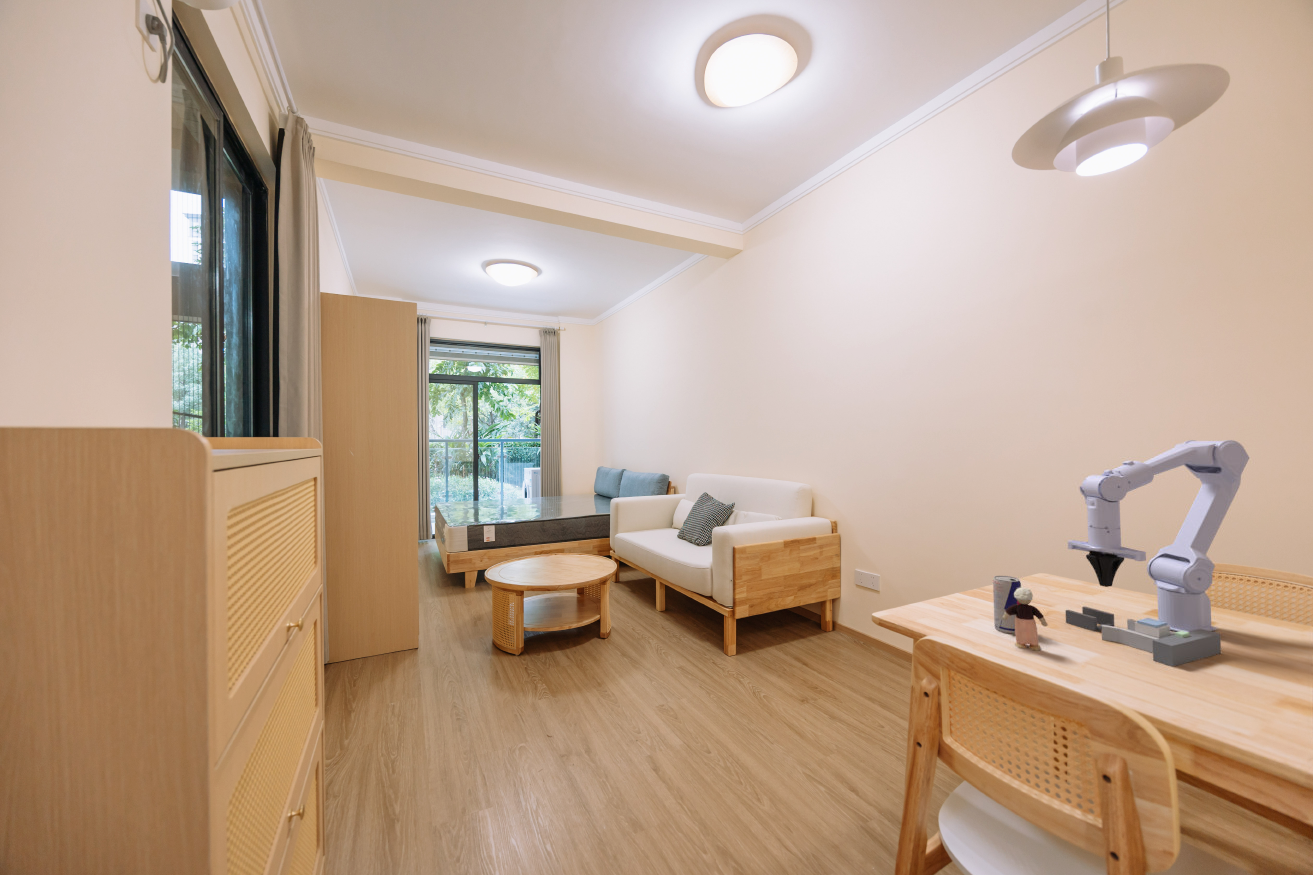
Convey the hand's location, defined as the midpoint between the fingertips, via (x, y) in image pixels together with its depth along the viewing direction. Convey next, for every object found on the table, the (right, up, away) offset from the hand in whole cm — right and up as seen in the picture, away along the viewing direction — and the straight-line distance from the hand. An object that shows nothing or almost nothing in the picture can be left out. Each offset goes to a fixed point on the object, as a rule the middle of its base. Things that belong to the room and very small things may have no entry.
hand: (1105, 585), depth 118 cm
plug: (0, -10, -11) cm, 15 cm away
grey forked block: (+1, -10, -11) cm, 14 cm away
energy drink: (-22, -11, +1) cm, 25 cm away
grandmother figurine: (-25, -11, -9) cm, 29 cm away
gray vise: (+1, -10, +3) cm, 11 cm away
